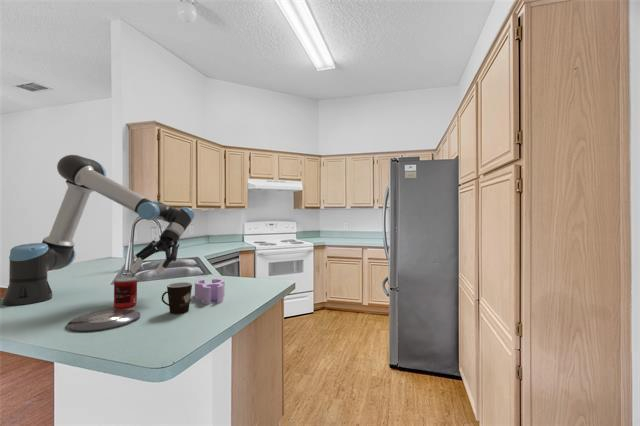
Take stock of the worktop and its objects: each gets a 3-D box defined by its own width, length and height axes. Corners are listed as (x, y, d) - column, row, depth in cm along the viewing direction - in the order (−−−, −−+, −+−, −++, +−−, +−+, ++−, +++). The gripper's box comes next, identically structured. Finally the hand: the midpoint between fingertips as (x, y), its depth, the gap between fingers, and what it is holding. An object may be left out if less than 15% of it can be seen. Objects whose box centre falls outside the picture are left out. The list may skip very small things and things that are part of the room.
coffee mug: (186, 307, 121) (186, 281, 121) (195, 311, 115) (196, 284, 115) (154, 313, 113) (154, 285, 113) (162, 318, 107) (162, 289, 107)
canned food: (132, 302, 127) (132, 275, 127) (140, 306, 122) (140, 278, 122) (110, 306, 121) (111, 278, 121) (117, 310, 116) (118, 281, 116)
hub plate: (51, 327, 98) (51, 323, 98) (111, 309, 117) (111, 306, 117) (98, 335, 92) (98, 331, 92) (153, 315, 111) (153, 311, 111)
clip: (229, 302, 129) (229, 285, 129) (197, 306, 123) (198, 288, 123) (221, 292, 147) (221, 277, 147) (192, 294, 141) (193, 279, 141)
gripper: (198, 240, 142) (173, 279, 128) (155, 239, 150) (127, 275, 135) (190, 229, 137) (164, 268, 123) (146, 228, 145) (116, 265, 130)
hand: (144, 272), depth 129 cm, fingers open, 13 cm apart
